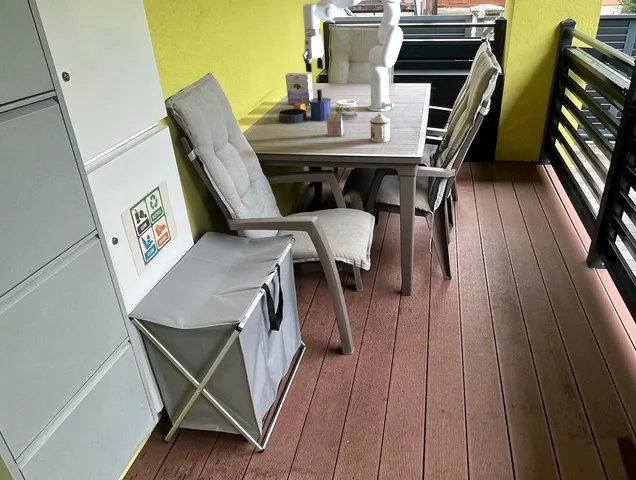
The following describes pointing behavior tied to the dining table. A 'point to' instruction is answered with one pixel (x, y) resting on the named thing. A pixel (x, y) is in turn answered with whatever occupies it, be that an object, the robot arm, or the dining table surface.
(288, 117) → the pan
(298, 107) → the block
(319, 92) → the lid
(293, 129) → the dining table surface
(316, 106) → the pot
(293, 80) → the candy box
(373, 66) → the robot arm
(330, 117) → the white printed carton
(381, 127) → the teacup with lid
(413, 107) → the dining table surface
